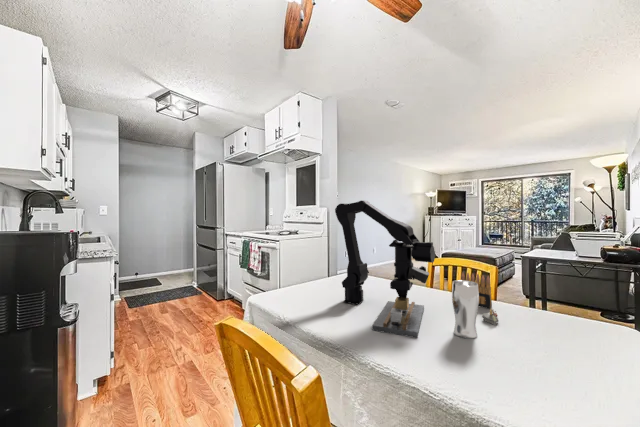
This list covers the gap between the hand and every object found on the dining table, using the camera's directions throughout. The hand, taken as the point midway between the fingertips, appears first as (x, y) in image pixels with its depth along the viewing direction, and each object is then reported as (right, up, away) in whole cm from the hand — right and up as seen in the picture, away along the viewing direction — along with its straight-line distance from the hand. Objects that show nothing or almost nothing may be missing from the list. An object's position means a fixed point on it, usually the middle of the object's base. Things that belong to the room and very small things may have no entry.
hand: (403, 303), depth 101 cm
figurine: (+25, -3, -10) cm, 27 cm away
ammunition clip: (+29, -3, +7) cm, 30 cm away
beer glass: (+13, -3, -19) cm, 23 cm away
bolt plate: (-3, -3, -7) cm, 8 cm away
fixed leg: (-6, -2, -14) cm, 16 cm away
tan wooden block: (-2, -1, -3) cm, 4 cm away
